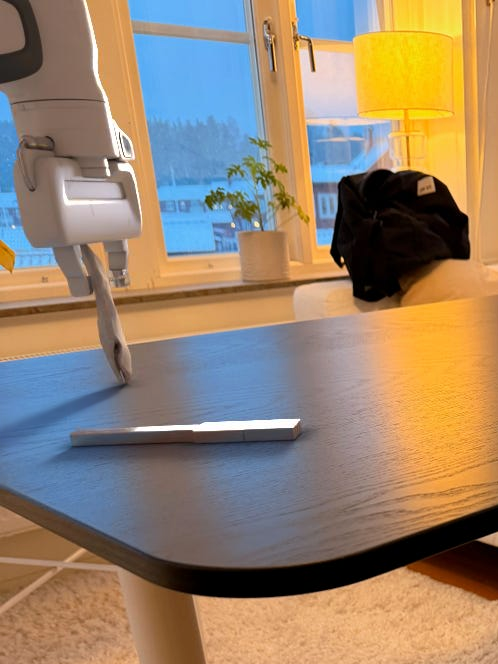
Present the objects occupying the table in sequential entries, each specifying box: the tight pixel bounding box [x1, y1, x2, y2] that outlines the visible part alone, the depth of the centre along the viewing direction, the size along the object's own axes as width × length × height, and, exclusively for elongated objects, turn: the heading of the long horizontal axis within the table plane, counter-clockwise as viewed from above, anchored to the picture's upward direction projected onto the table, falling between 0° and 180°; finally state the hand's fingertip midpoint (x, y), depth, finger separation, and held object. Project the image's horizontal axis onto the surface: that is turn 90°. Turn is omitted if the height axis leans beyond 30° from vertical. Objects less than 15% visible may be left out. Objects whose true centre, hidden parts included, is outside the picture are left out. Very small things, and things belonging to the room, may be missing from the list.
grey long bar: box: [69, 418, 302, 447], centre depth 70 cm, size 18×3×1 cm, turn 90°
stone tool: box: [80, 244, 133, 384], centre depth 92 cm, size 9×3×15 cm, turn 29°
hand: (102, 291), depth 92 cm, fingers open, 8 cm apart
